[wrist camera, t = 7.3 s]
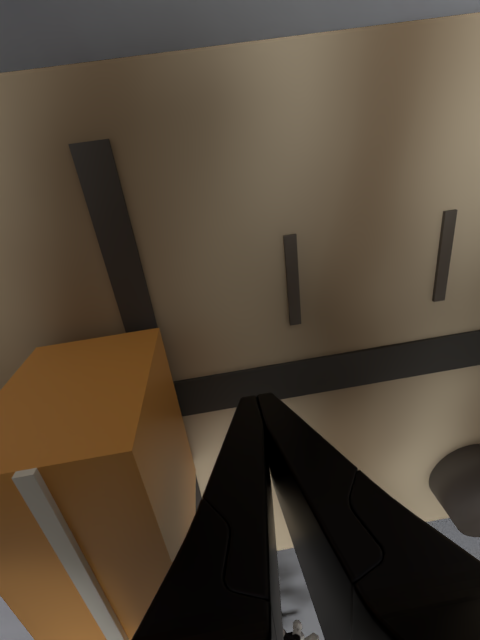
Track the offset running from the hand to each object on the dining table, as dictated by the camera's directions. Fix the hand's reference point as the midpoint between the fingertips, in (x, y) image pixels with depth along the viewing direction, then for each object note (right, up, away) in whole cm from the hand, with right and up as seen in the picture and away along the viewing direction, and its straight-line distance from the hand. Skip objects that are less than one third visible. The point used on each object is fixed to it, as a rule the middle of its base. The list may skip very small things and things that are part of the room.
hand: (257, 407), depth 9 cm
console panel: (+3, +2, +3) cm, 5 cm away
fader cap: (-4, 0, 0) cm, 4 cm away
